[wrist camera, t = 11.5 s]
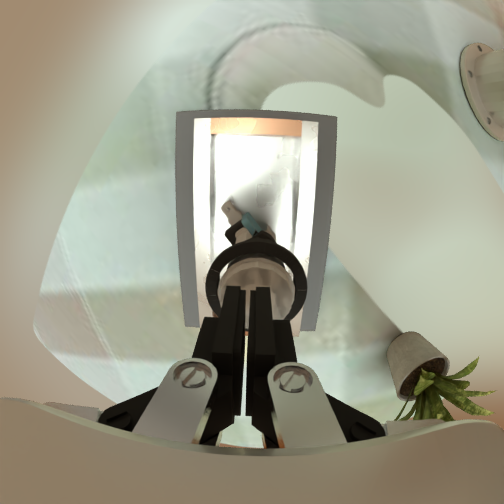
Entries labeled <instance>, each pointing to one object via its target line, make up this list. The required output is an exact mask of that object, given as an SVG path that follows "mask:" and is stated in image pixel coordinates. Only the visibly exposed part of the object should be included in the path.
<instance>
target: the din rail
mask: <svg viewBox="0 0 504 504" xmlns="http://www.w3.org/2000/svg"><path fill="white" fill-rule="evenodd" d="M317 148H318V122H312V121H301V120H289V119H272V118H195V119H194V159H193V191H194V236H195V260H196V279H197V294H198V308H199V321H200V329H201V326H202V322H203V319H204V317H218V316H217V315H216V314H215V313H214V312H213V310H212V309H211V307H210V305H209V303H208V300H207V297H206V292H205V282H206V277H207V274H208V271H209V269H210V266H211V264H212V263H213V261H214V260H215V258H216V257H217V256H218V255H219V254H220V253H221V252H222V251H224V250H225V249H226V248H228V247H230V246H232V244H231V243H230V242H229V241H228V239H227V238H226V237H225V232H226V230H227V229H228V228H229V227H230V224H229V222H228V221H227V220H228V218H227V217H226V215H225V214H224V213H223V212H222V210H221V209H220V207H221V206H222V205H223V204H224V203H225V202H227V201H228V200H230V201H231V203H232V204H233V205H234V206H235V208H236V209H237V210H240V211H241V212H242V214H243V215H244V214H245V213H247V212H249V213H250V215H251V216H252V217H253V218H254V220H255V221H256V222H257V224H258V225H259V226H260V228H261V229H262V230H263V231H265V230H267V224H268V225H269V227H270V228H271V229H272V231H273V232H274V233H275V235H276V240H275V241H276V243H277V244H279V245H281V246H283V247H285V248H286V249H288V250H289V251H290V252H292V253H293V254H294V255H295V256H296V257H297V259H298V260H299V261H300V263H301V265H302V267H303V269H304V271H305V274H306V278H307V273H308V264H309V255H310V245H311V235H312V224H313V212H314V199H315V185H316V168H317ZM227 210H231V209H230V208H229V207H227ZM284 266H285V269H286V271H287V272H288V273H289V274H290V276H291V278H292V281H293V273H292V272H291V270H290V269H289V267H288V266H287V265H286V264H285V263H284ZM227 267H228V264H227V265H226V266H225V267H224V268H223V269H222V271H221V273H220V279H221V277H222V275H223V274H224V273H225V272H226V270H227ZM302 312H303V307H302V308H301V310H300V311H299V313H298V314H297V315H296V316H295V317H294V318H293V319H292V320H291V321H290V323H291V329H292V335H293V336H299V333H300V326H301V319H302ZM245 336H248V332H247V331H245Z"/></svg>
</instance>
